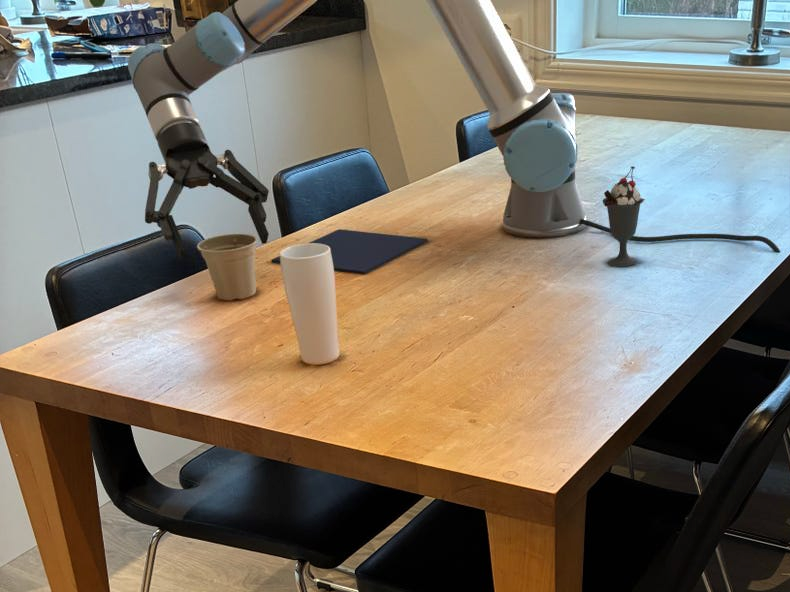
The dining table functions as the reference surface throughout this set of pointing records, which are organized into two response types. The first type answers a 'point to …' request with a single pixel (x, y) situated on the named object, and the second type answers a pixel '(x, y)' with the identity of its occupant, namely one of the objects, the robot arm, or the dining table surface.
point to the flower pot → (231, 264)
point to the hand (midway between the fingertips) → (225, 247)
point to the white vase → (312, 300)
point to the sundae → (623, 217)
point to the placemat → (364, 249)
